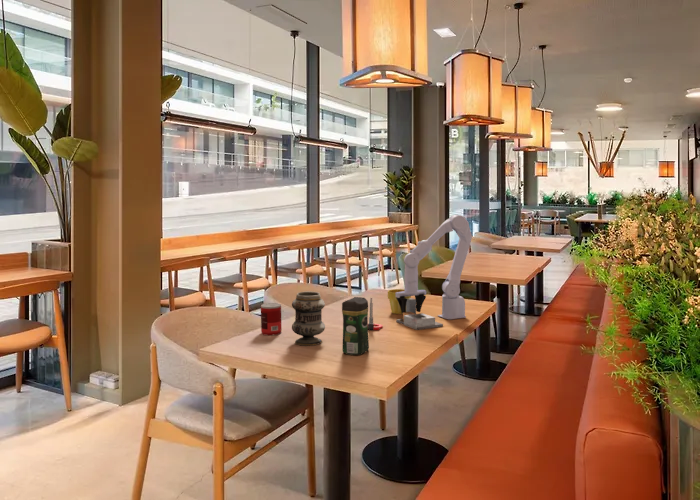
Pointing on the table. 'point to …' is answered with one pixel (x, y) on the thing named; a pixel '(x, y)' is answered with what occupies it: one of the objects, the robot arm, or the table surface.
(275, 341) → the table surface
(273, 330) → the canned food
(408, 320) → the bracket fixture
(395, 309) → the plant pot
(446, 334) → the table surface
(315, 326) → the apothecary jar
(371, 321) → the tow hook
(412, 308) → the pin
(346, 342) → the coffee jar
